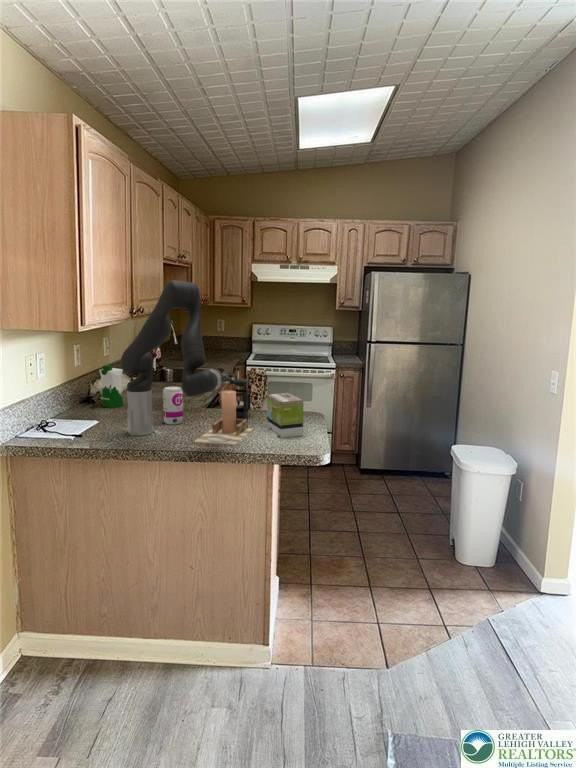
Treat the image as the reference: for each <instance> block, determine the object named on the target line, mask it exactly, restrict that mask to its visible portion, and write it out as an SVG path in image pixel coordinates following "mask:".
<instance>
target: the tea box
mask: <svg viewBox="0 0 576 768" xmlns="http://www.w3.org/2000/svg"><path fill="white" fill-rule="evenodd" d="M266 427H267V428H268V429H270V430H271V431H273V432H274V433H276V434H277V436H278V438H280V439H286V438H294V436H295V437H302V436H304V399H302V398H300V397H297V396H295V395H293V394H292V393H290V392H283V393H274V394H273V393H272V394H266ZM285 437H286V438H285Z"/></svg>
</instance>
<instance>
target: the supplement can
mask: <svg viewBox="0 0 576 768" xmlns="http://www.w3.org/2000/svg"><path fill="white" fill-rule="evenodd" d="M162 405H163V409H162V410H163V411H162V412H163V413H162V414H163V423H165V424H166V425H173V424H174V425H179V424H182V423H183V422H184V391H183V388H182V386H167V387H164V388H163V390H162Z"/></svg>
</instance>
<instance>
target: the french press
mask: <svg viewBox="0 0 576 768" xmlns="http://www.w3.org/2000/svg"><path fill="white" fill-rule="evenodd" d="M243 368H244V367H243V366H241V365H239V366H238V365H237V366H233V369H236V370H237V381H236V382H230V381H229V382H228V385H235V386H236V387H237V389H231V390H232V391H236V397H237V401H236V419H245V418H248V417H249V418H250V416H249V414H250V413H249V410H251V390H250V389H244V388H243V389H241V388H242V387H247V386H248V383H249V379H246V378H240V376H239V375H240V373H239V372H240V369H243ZM242 396H243V401H241V400H240V397H242ZM242 407H243V408H242ZM249 418H248V419H249Z"/></svg>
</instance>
